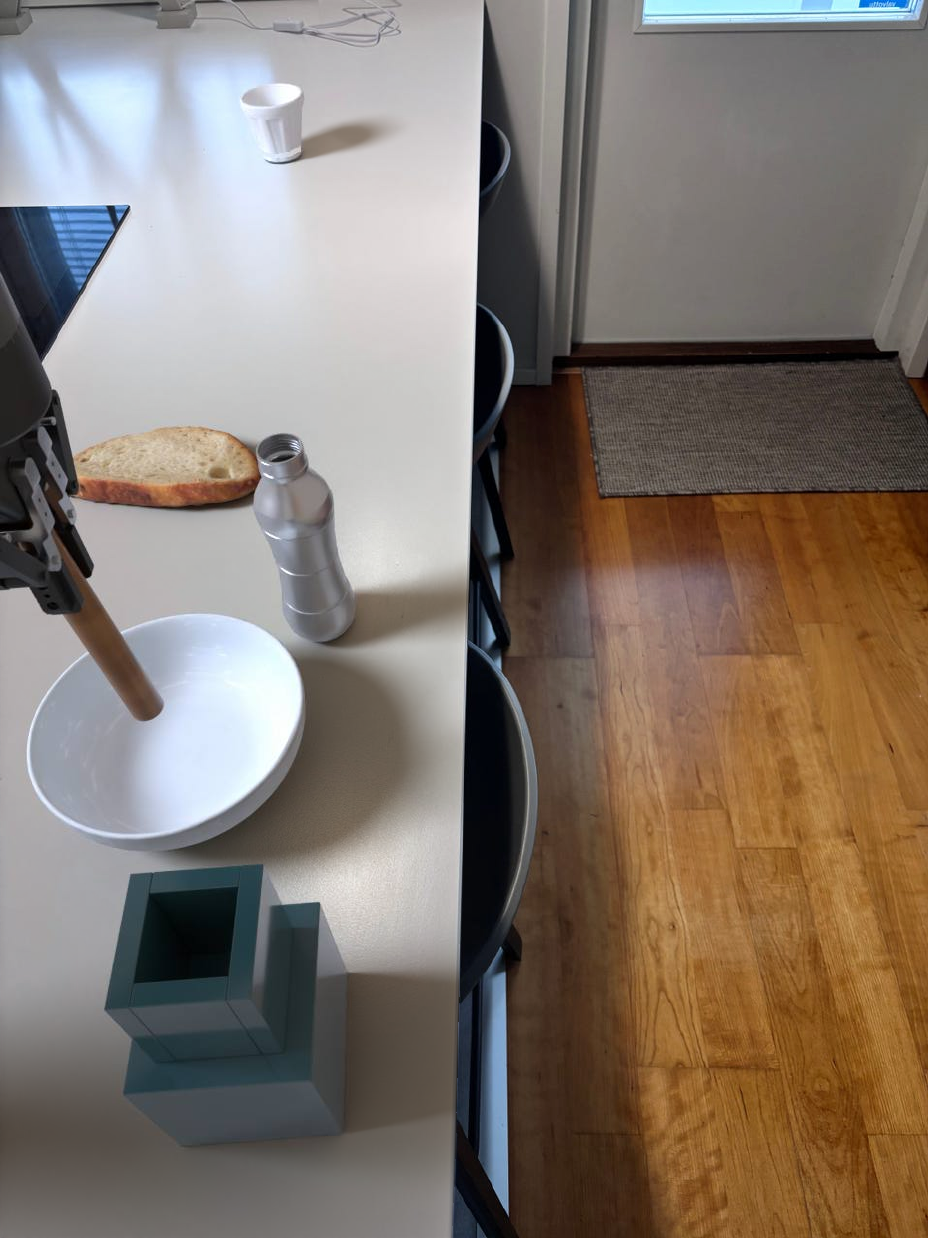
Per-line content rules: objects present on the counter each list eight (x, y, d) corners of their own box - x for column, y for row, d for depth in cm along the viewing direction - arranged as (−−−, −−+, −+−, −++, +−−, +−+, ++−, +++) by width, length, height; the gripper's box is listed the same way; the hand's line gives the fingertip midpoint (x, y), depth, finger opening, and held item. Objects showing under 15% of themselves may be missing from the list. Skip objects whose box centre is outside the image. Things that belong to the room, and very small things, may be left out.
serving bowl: (342, 669, 82) (329, 616, 77) (283, 895, 69) (263, 850, 63) (115, 655, 85) (88, 603, 80) (15, 871, 71) (-26, 825, 66)
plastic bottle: (347, 588, 89) (309, 411, 74) (369, 638, 84) (332, 462, 69) (280, 609, 87) (227, 433, 72) (299, 661, 83) (246, 486, 68)
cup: (323, 158, 153) (313, 96, 146) (266, 175, 150) (253, 112, 143) (299, 137, 159) (288, 77, 152) (243, 153, 156) (229, 92, 149)
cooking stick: (126, 717, 64) (-30, 495, 49) (145, 692, 65) (-2, 468, 51) (151, 725, 63) (1, 502, 49) (170, 699, 65) (29, 474, 50)
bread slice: (50, 480, 102) (36, 452, 99) (197, 409, 109) (188, 381, 106) (125, 567, 92) (112, 539, 89) (281, 483, 99) (273, 454, 97)
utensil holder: (180, 1147, 58) (64, 1046, 44) (201, 983, 65) (107, 849, 50) (343, 1134, 58) (280, 1029, 44) (347, 972, 65) (294, 835, 50)
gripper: (-99, 260, 47) (37, 518, 60) (-216, 430, 38) (-26, 691, 51) (50, 248, 47) (154, 508, 60) (-31, 415, 38) (112, 680, 51)
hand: (71, 591), depth 56 cm, fingers closed on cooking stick, 2 cm apart
